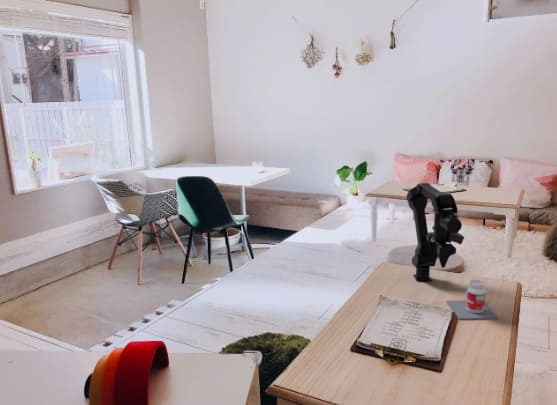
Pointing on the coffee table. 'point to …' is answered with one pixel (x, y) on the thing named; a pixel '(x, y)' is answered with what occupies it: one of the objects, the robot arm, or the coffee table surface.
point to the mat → (464, 314)
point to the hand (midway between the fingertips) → (439, 263)
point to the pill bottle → (475, 297)
